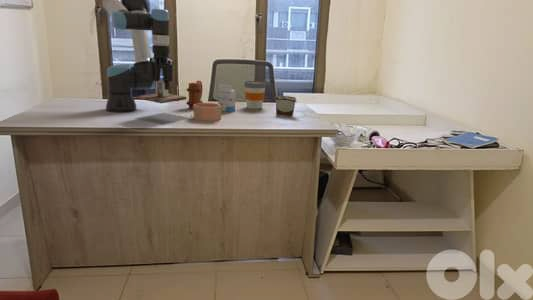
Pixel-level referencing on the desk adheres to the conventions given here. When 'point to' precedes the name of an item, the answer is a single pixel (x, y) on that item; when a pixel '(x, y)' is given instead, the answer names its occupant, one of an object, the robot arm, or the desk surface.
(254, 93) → the reusable coffee cup
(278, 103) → the food container
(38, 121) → the desk surface
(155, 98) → the lid
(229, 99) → the clear plastic jar
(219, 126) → the desk surface
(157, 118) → the mat
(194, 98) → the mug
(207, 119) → the bowl
